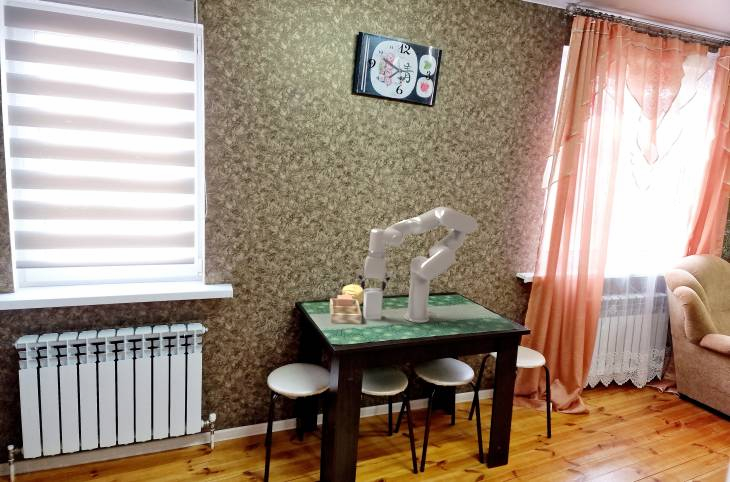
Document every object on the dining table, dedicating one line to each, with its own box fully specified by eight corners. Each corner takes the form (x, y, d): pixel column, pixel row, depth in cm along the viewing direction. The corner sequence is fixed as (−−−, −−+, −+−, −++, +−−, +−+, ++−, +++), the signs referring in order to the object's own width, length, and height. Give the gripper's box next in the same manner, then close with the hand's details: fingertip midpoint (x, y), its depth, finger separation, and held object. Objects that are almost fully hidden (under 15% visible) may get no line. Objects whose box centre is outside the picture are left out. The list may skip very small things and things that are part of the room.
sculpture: (338, 304, 247) (340, 285, 245) (348, 299, 258) (349, 280, 256) (358, 309, 243) (360, 288, 241) (367, 303, 254) (369, 283, 252)
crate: (356, 308, 243) (357, 299, 242) (361, 325, 219) (361, 315, 218) (329, 307, 241) (330, 298, 240) (331, 324, 217) (331, 314, 217)
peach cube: (350, 308, 240) (351, 295, 238) (351, 313, 233) (352, 299, 232) (336, 308, 239) (337, 294, 238) (337, 312, 232) (338, 299, 231)
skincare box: (378, 317, 232) (380, 288, 230) (381, 321, 227) (383, 291, 224) (361, 317, 231) (364, 287, 228) (364, 321, 225) (366, 291, 222)
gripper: (393, 254, 228) (389, 288, 231) (357, 251, 226) (354, 286, 229) (395, 257, 220) (391, 292, 223) (359, 255, 218) (355, 290, 221)
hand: (373, 289), depth 226 cm, fingers open, 9 cm apart
